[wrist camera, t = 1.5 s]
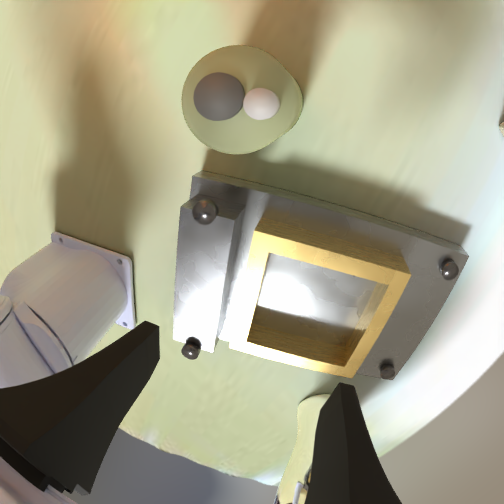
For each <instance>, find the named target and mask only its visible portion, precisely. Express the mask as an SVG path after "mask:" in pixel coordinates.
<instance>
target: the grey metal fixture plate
mask: <svg viewBox="0 0 504 504" xmlns="http://www.w3.org/2000/svg"><path fill="white" fill-rule="evenodd" d="M468 257H469V256H468V254H467V253H466V252H465V250H464V249H463V248H462V247H461V246H460V245H457V244H454V243H452V242H449V241H446V240H443V239H441V238H438V237H435V236H432V235H430V234H427V233H424V232H421V231H418V230H415V229H412V228H410V227H407V226H404V225H401V224H398V223H395V222H392V221H389V220H385V219H382V218H379V217H376V216H373V215H370V214H367V213H363V212H360V211H357V210H353V209H350V208H347V207H343V206H340V205H337V204H333V203H330V202H326V201H323V200H319V199H316V198H312V197H308V196H305V195H301V194H297V193H294V192H290V191H286V190H282V189H278V188H274V187H270V186H266V185H262V184H258V183H254V182H250V181H246V180H242V179H237V178H233V177H229V176H224V175H220V174H215V173H211V172H206V171H200V172H198V173H197V174H195V175H193V176H192V184H191V193H190V200H189V201H188V202H186V203H185V204H184V205H182V206H181V209H180V220H179V232H178V245H177V259H176V275H175V295H174V323H173V339H174V340H177V341H180V342H183V343H185V345H184V346H183V348H182V354H183V355H184V356H185V357H186V358H188V359H192V360H193V359H196V358H197V357H198V355H199V353H200V349H203V350H206V351H209V352H212V353H213V351H214V349H215V347H216V344H217V342H218V340H219V338H221V339H224V340H227V341H230V342H231V343H230V348H233V349H236V350H240V351H243V352H246V353H250V354H253V355H257V356H260V357H264V358H268V359H271V360H275V361H279V362H283V363H287V364H291V365H295V366H299V367H303V368H307V369H311V370H315V371H320V372H324V373H329V374H333V375H338V376H343V377H348V378H353V376H354V375H355V373H357V374H362V375H367V376H372V377H378V378H383V379H389V380H393V379H394V378H395V376H396V375H397V374H398V372H399V371H400V370H401V368H402V367H403V366H404V364H405V363H406V361H407V360H408V359H409V357H410V356H411V354H412V353H413V352H414V350H415V349H416V347H417V346H418V344H419V343H420V341H421V340H422V338H423V337H424V335H425V334H426V332H427V331H428V329H429V327H430V326H431V324H432V323H433V321H434V319H435V318H436V316H437V315H438V313H439V311H440V310H441V308H442V306H443V304H444V303H445V301H446V299H447V298H448V296H449V294H450V292H451V290H452V289H453V287H454V285H455V283H456V281H457V279H458V277H459V275H460V273H461V272H462V270H463V268H464V266H465V264H466V262H467V259H468Z"/></svg>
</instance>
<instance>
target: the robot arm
mask: <svg viewBox="0 0 504 504" xmlns="http://www.w3.org/2000/svg"><path fill="white" fill-rule="evenodd" d="M51 239H52V242H51V243H50V244H48V245H47V246H45V247H44V248H42V249H41V250H39V251H38V252H37V253H35V254H34V255H32V256H31V257H30V258H28V259H27V260H25V261H24V262H23V263H21V264H20V265H18V266H17V267H16V268H14V269H13V270H12V271H11V272H10V273H9V274H8V276H7V277H6V279H5V280H4V282H3V284H2V287H1V290H0V504H77V503H75V502H74V501H72V500H71V499H69V498H68V497H66V496H65V495H63V494H62V493H63V491H64V490H66V491H67V492H69V493H70V494H71V493H72V492H73V491H76V492H77V493H79V494H81V495H88V494H90V492H91V489H92V486H93V484H94V481H95V478H96V475H97V473H98V470H99V468H100V465H101V463H102V461H103V458H104V456H105V454H106V452H107V449H108V447H109V445H110V443H111V441H112V439H113V437H114V435H115V433H116V431H117V429H118V427H119V425H120V423H121V422H122V420H123V418H124V417H125V415H126V414H127V412H128V411H129V409H130V408H131V406H132V405H133V403H134V402H135V400H136V399H137V397H138V396H139V394H140V393H141V391H142V390H143V388H144V387H145V385H146V384H147V382H148V381H149V379H150V377H151V375H152V373H153V371H154V369H155V367H156V365H157V363H158V361H159V359H160V349H159V326H157V325H155V324H153V323H150V322H148V321H144V322H142V323H141V324H140V325H138V326H137V327H136V323H135V310H134V295H133V274H132V261H131V259H130V258H129V257H127V256H124V255H121V254H119V253H116V252H113V251H110V250H107V249H104V248H101V247H98V246H95V245H92V244H89V243H87V242H84V241H81V240H78V239H75V238H73V237H70V236H67V235H64V234H61V233H59V232H56V231H55V232H53V233H52V234H51ZM120 260H121V261H122V262H121V261H120ZM114 323H116V324H118V325H121V326H123V327H126V328H128V329H131V331H130V332H128V333H127V334H125V335H124V336H122V337H121V338H119V339H118V340H116V341H115V342H113V343H112V344H110V345H109V346H107V347H106V348H104V349H102V350H101V351H99V352H98V353H96V354H94V355H92V356H91V357H89V358H87V359H86V357H87V356H88V355H89V354H90V352H91V351H92V350H93V349H94V348H95V346H96V345H97V344H98V343H99V341H100V340H101V339H102V338H103V337H104V335H105V334H106V333H107V332H108V331H109V329H110V328H111V327H112V326H113V325H114ZM304 504H402V503H401V502H400V500H399V498H398V496H397V495H396V493H395V491H394V490H393V488H392V486H391V484H390V483H389V481H388V479H387V477H386V475H385V473H384V470H383V468H382V466H381V464H380V462H379V459H378V457H377V454H376V452H375V449H374V447H373V444H372V441H371V438H370V435H369V432H368V430H367V427H366V424H365V420H364V417H363V414H362V411H361V407H360V404H359V400H358V397H357V393H356V390H355V387H354V386H353V385H348V384H344V383H339V384H338V385H337V387H336V388H335V390H334V391H333V393H332V394H331V395H330V397H329V398H328V400H327V401H326V402H325V404H324V405H323V406H322V408H321V409H320V413H319V417H318V422H317V427H316V431H315V440H314V449H313V459H312V468H311V476H310V482H309V488H308V492H307V495H306V499H305V503H304Z"/></svg>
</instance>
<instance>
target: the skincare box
mask: <svg viewBox="0 0 504 504" xmlns="http://www.w3.org/2000/svg"><path fill="white" fill-rule="evenodd" d="M499 129H500V131H501V133H502V134H503V137H504V121H503V122H502V123H501V124H500V125H499Z"/></svg>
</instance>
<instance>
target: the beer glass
mask: <svg viewBox="0 0 504 504" xmlns="http://www.w3.org/2000/svg"><path fill="white" fill-rule="evenodd" d="M330 395H331V394H319V395H314V396H311V397H309V398H306V399H305V400H303V401H302V402H301V403H300V404H299V405H298V408H297V421H298V433H297V439H296V443H295V446H294V449H293V452H292V455H291V457H290V459H289V462H288V464H287V467H286V469H285V472H284V474H283V476H282V479H281V482H280V485H279V487H278V490H277V494H276V498H275V501H274V504H304V503H305V499H306V495H307V492H308V488H309V482H310V476H311V468H312V459H313V449H314V440H315V431H316V427H317V422H318V417H319V413H320V409H321V408H322V406H323V405H324V404H325V402H326V401H327V400H328V398H329V397H330Z"/></svg>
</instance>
